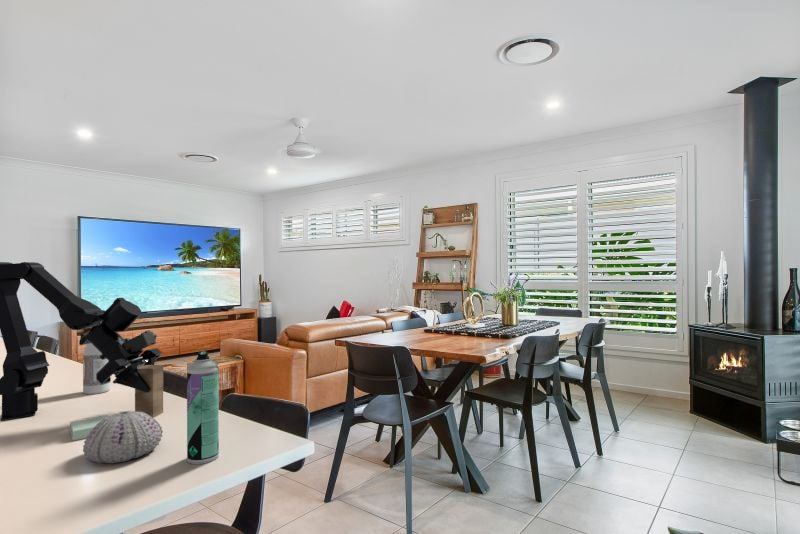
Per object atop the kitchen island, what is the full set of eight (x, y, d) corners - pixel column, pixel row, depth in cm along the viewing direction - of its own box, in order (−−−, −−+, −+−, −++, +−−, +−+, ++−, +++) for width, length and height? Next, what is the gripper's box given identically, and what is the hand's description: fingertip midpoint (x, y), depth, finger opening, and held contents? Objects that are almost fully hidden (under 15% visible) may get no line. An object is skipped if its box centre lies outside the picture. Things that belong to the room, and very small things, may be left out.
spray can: (209, 450, 89) (209, 348, 89) (224, 457, 85) (223, 351, 86) (181, 459, 84) (181, 352, 85) (195, 466, 81) (195, 355, 81)
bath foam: (84, 390, 137) (85, 325, 138) (111, 387, 140) (111, 323, 141) (81, 395, 131) (81, 327, 131) (109, 392, 134) (109, 325, 135)
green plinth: (73, 440, 95) (73, 431, 95) (70, 430, 101) (70, 421, 101) (117, 431, 100) (117, 422, 100) (112, 423, 106) (112, 414, 106)
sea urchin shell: (177, 444, 92) (177, 405, 93) (120, 472, 79) (120, 426, 80) (126, 438, 96) (126, 401, 96) (63, 464, 83) (63, 421, 83)
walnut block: (134, 418, 110) (135, 368, 110) (145, 412, 114) (145, 365, 114) (153, 418, 110) (153, 368, 110) (163, 412, 114) (163, 364, 114)
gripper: (108, 325, 103) (156, 373, 103) (154, 317, 122) (195, 358, 121) (74, 360, 103) (122, 408, 103) (126, 347, 122) (166, 388, 121)
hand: (154, 388), depth 112 cm, fingers closed on walnut block, 4 cm apart
